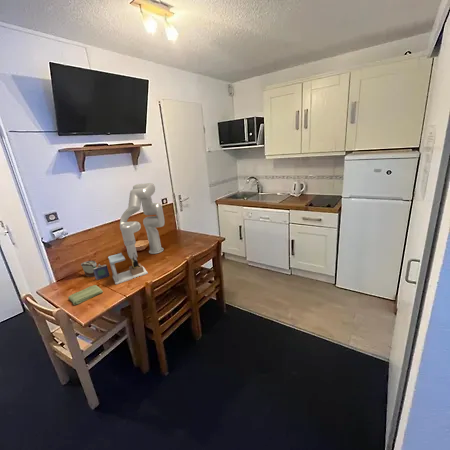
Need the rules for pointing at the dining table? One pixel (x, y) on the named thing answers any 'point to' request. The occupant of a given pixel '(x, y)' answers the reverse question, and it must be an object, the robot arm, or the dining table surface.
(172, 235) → the dining table surface
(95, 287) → the washcloth
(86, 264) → the food container
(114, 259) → the socket station
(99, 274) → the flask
